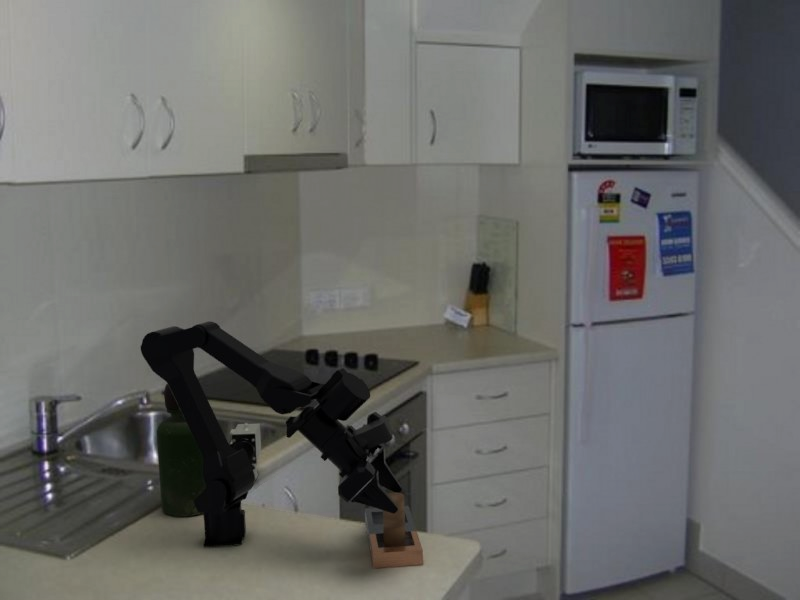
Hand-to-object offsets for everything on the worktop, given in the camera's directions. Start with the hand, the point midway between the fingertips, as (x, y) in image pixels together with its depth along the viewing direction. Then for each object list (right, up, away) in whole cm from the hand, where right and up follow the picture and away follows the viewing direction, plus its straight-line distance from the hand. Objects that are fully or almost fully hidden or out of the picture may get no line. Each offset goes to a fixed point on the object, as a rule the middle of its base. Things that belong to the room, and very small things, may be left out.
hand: (398, 501), depth 151 cm
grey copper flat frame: (-1, -8, +6) cm, 10 cm away
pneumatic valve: (-32, -5, +41) cm, 52 cm away
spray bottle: (-40, -7, +25) cm, 48 cm away
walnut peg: (-1, -9, +1) cm, 9 cm away
